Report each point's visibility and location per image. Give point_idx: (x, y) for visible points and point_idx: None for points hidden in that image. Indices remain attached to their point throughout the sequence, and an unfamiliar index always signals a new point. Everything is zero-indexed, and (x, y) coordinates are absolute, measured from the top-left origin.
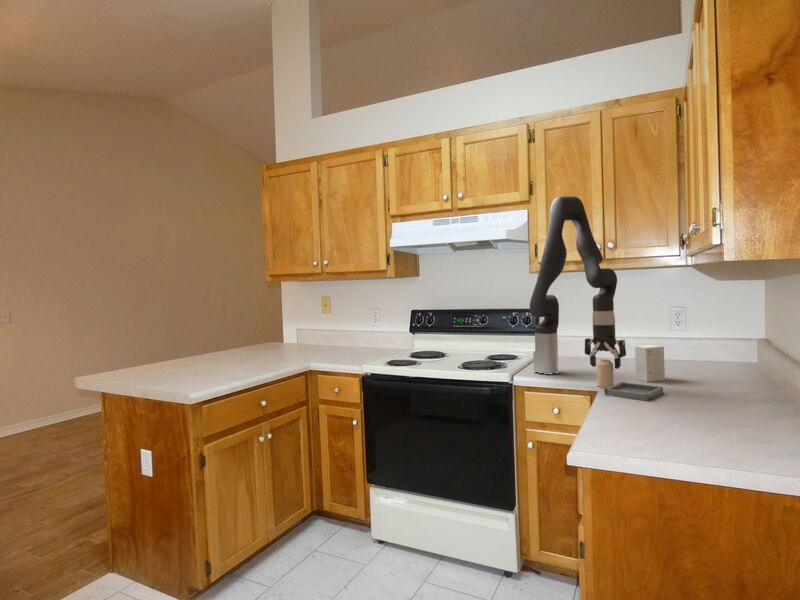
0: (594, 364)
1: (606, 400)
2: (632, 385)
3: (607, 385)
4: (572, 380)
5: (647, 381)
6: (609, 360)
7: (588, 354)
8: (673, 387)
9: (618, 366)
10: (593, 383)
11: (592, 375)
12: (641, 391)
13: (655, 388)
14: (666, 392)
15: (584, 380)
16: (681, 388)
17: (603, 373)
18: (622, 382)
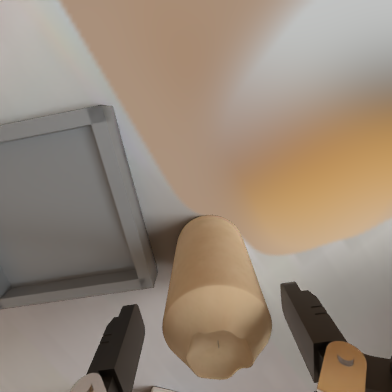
0: (286, 303)
1: (27, 5)
2: (102, 280)
3: (184, 230)
4: (384, 251)
5: (152, 388)
6: (189, 366)
7: (379, 363)
8: (53, 372)
9: (111, 322)
10: (280, 261)
11: None
12: (43, 245)
13: (16, 292)
14: None
15: (339, 282)
16: (30, 374)
17: (195, 251)
18: (144, 282)
